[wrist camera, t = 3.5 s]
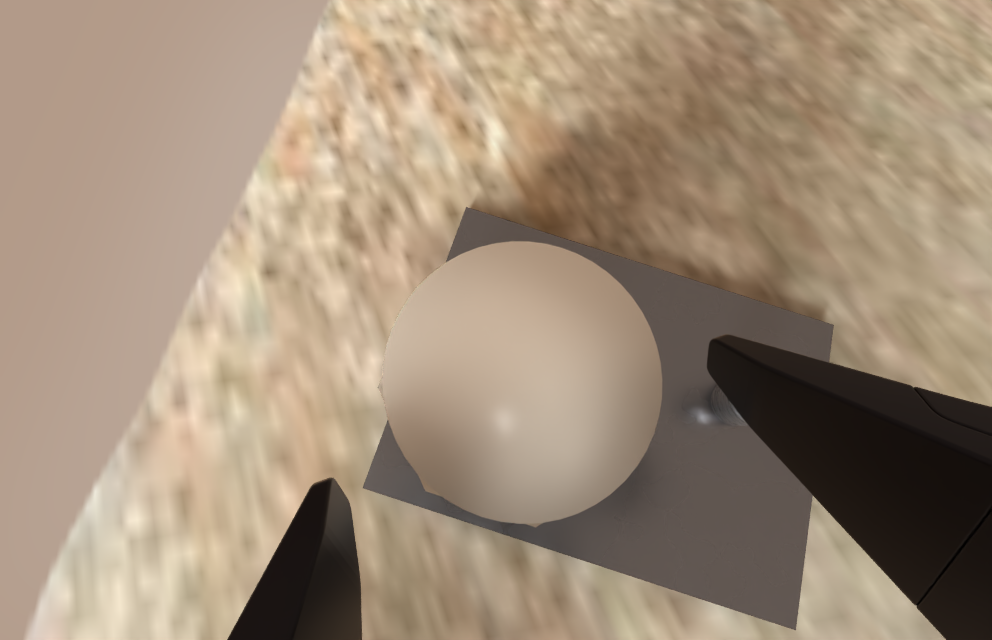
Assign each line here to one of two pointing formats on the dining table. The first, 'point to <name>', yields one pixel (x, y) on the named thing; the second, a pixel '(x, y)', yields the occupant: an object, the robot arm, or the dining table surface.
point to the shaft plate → (672, 453)
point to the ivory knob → (522, 382)
